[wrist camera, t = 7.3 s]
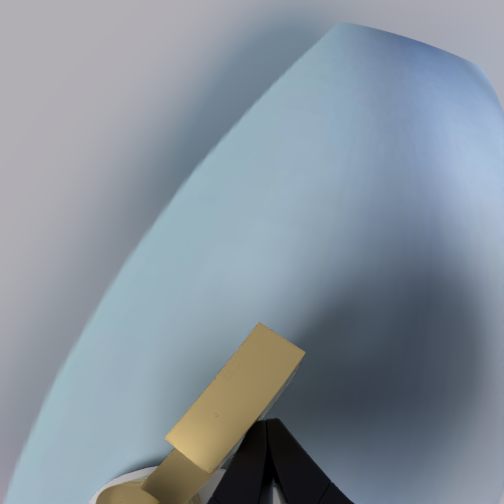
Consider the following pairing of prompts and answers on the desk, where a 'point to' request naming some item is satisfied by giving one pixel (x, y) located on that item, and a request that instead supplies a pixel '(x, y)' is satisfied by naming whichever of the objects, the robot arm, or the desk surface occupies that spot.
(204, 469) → the brass lever
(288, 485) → the robot arm
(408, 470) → the desk surface
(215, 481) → the plate
